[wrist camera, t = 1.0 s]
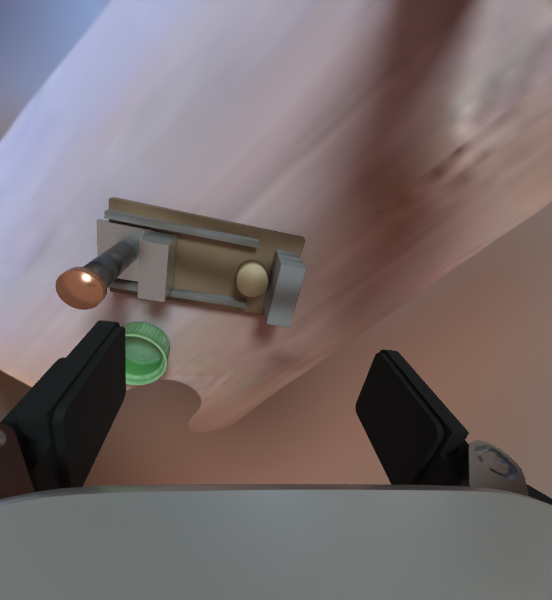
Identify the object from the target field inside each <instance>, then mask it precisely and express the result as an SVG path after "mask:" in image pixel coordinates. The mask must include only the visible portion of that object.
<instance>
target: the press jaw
mask: <svg viewBox="0 0 552 600" xmlns="http://www.w3.org/2000/svg"><path fill="white" fill-rule="evenodd" d="M176 239H177V236H176V235H171V234H166V233H161V232H156V231H152V229H147V228H142V227H137V226H132V225H127V224H122V223H117V222H112V221H107V220H101V219H98V220H97V246H98V257H97V258H95V259H94V260H92V261H91V262H89V263H88V264H87V265H85V266H84V267H74V268H71V269H69V270H67V271H66V272H64V273H63V274H61V275H60V276H59V277H58V279H57V281H56V291H57V293H58V295H59V297H60V298H61V299H62V300H63V301H64V302H65V303H66V304H68V305H69V306H71V307H74V308H77V309H83V310H84V309H91V308H94V307H96V306H97V305H98V304H99V303H100V302H101V301H102V300H103V299H104V298H105V296H106V294H107V287H108V286H109V285H110V284H111V283H112V282H113V281H114V280H115V279H116V278H119V279H125V280H131V281H137V282H138V298H140V299H146V300H153V301H160V302H165V300H166V298H167V296H168V294H169V293H170V291H171V289H172V285H173V274H174V262H175V251H176Z"/></svg>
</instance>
